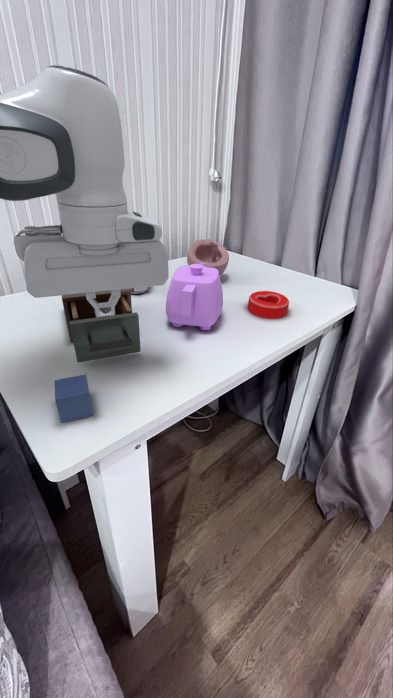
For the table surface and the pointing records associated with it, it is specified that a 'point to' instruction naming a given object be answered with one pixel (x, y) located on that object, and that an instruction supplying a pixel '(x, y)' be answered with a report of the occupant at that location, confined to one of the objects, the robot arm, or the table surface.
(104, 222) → the robot arm
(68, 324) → the cabinet
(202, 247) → the mortar and pestle
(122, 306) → the drawer
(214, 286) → the teapot
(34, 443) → the table surface
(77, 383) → the block
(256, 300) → the decorative ornament
